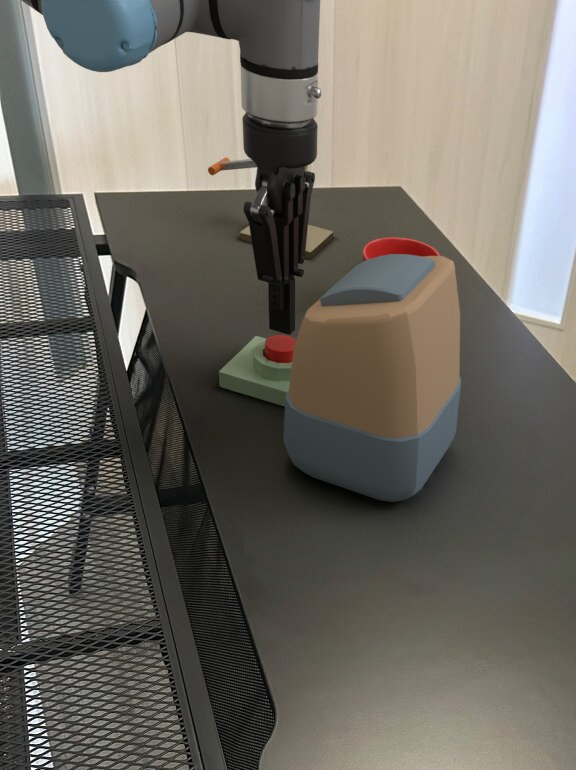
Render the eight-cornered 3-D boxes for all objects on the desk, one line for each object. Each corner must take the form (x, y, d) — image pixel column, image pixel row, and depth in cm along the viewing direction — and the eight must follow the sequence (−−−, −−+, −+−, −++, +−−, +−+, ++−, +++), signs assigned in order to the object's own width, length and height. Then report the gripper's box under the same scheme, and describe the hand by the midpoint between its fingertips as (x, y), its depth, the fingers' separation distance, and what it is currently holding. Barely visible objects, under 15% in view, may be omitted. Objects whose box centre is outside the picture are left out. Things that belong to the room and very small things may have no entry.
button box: (219, 387, 105) (217, 358, 102) (256, 350, 112) (255, 322, 109) (309, 414, 104) (309, 385, 101) (340, 375, 111) (342, 348, 108)
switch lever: (210, 179, 131) (205, 163, 130) (226, 170, 135) (221, 153, 133) (290, 172, 126) (286, 155, 125) (304, 162, 130) (300, 145, 128)
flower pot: (343, 309, 123) (347, 242, 116) (405, 295, 129) (412, 231, 122) (384, 344, 118) (390, 276, 111) (447, 328, 123) (456, 263, 116)
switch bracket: (240, 239, 134) (236, 145, 124) (265, 220, 140) (264, 129, 130) (310, 259, 133) (312, 166, 123) (333, 238, 139) (336, 148, 129)
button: (259, 358, 104) (259, 345, 103) (273, 344, 107) (273, 331, 106) (289, 367, 104) (289, 354, 103) (303, 352, 107) (303, 340, 105)
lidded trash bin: (336, 403, 106) (345, 215, 90) (461, 444, 104) (493, 259, 87) (271, 476, 95) (267, 275, 78) (410, 524, 92) (436, 327, 76)
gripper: (286, 142, 81) (287, 362, 98) (339, 107, 90) (332, 314, 107) (214, 124, 82) (228, 345, 99) (274, 91, 91) (277, 299, 108)
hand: (282, 329), depth 103 cm, fingers closed
